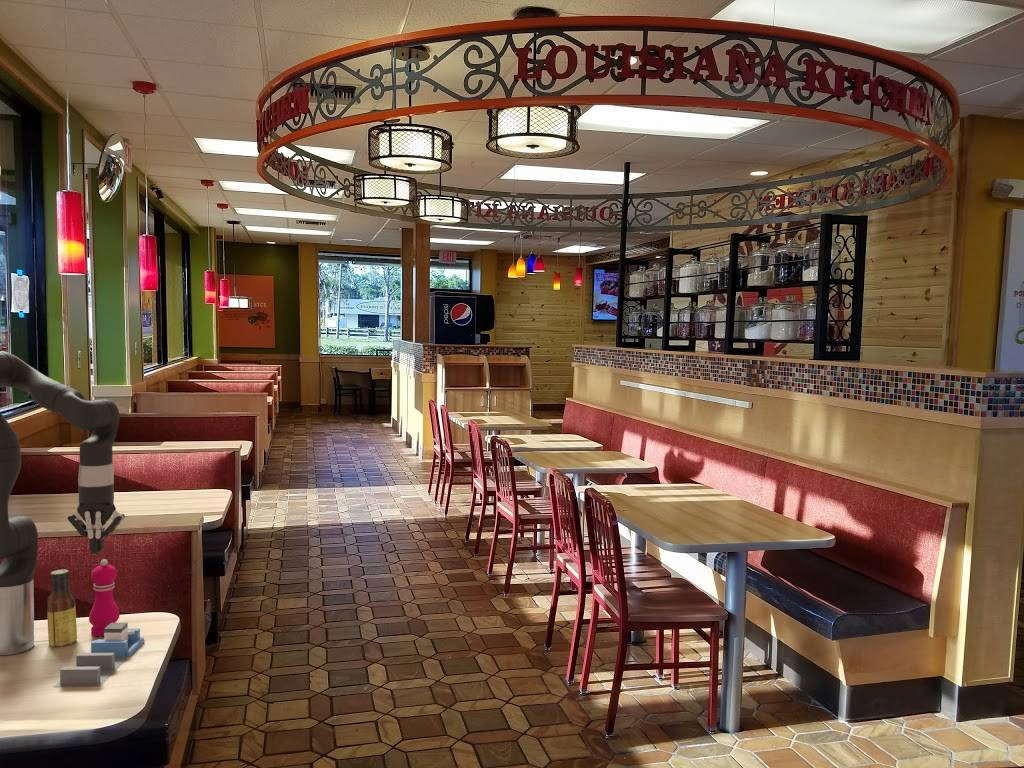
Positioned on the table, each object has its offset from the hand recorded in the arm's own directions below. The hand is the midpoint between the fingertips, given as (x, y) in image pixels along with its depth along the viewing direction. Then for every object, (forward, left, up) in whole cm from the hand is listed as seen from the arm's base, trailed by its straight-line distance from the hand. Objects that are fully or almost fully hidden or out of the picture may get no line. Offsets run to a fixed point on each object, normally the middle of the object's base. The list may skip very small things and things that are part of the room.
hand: (96, 552), depth 185 cm
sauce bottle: (-12, +8, -27) cm, 31 cm away
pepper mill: (-6, +18, -27) cm, 33 cm away
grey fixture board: (+3, -4, -27) cm, 27 cm away
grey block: (+3, +3, -26) cm, 26 cm away
